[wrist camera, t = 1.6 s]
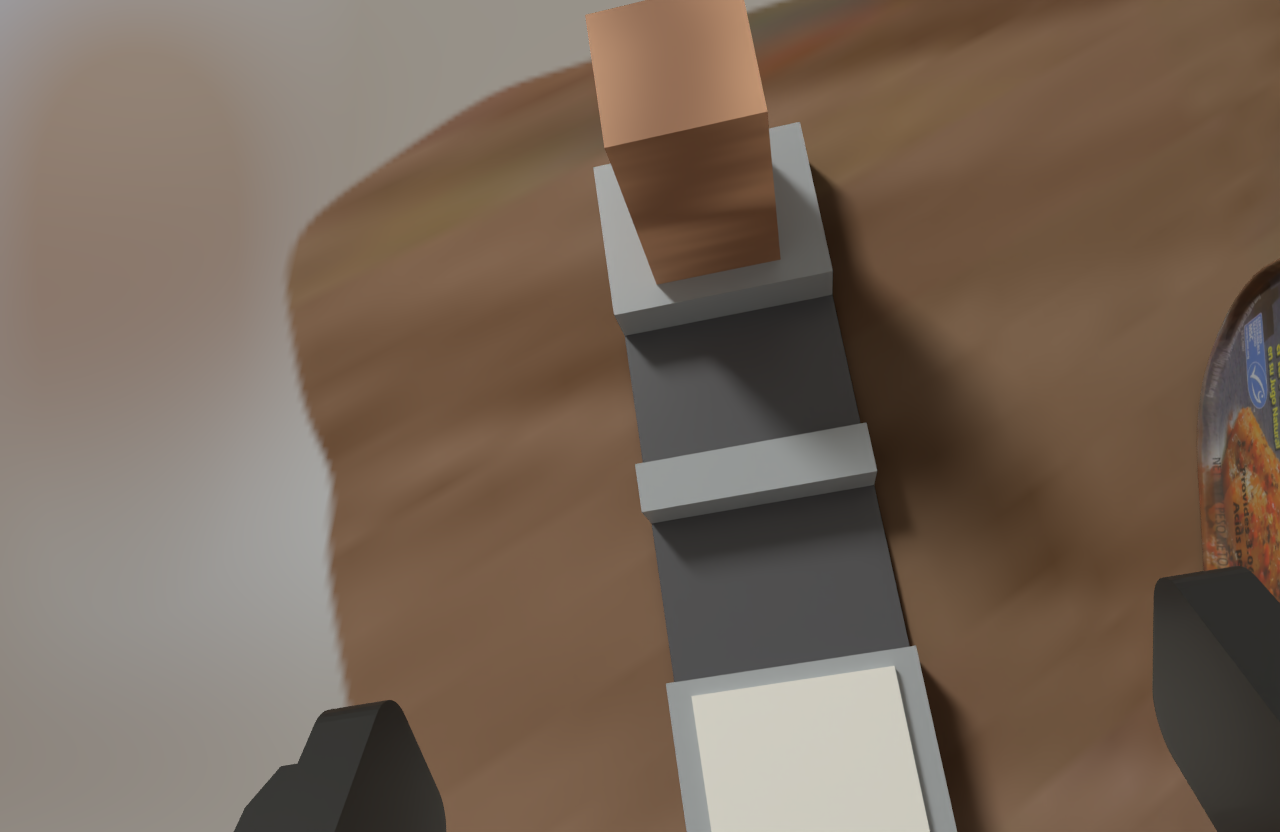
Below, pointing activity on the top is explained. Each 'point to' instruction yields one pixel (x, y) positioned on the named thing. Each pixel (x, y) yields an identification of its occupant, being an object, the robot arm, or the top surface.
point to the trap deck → (771, 539)
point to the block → (687, 133)
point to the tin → (1243, 436)
